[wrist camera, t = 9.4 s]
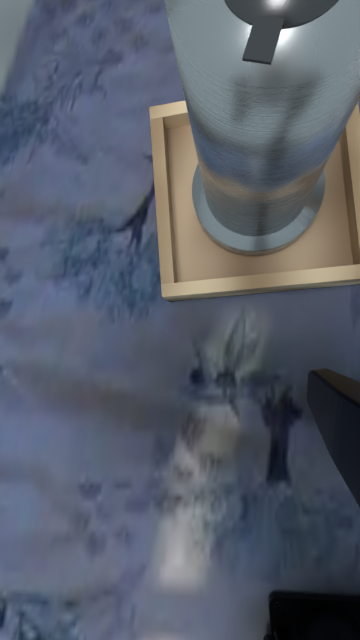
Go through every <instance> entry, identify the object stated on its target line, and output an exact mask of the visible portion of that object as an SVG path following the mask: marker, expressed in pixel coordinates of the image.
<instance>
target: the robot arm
mask: <svg viewBox="0 0 360 640" xmlns="http://www.w3.org/2000/svg"><path fill="white" fill-rule="evenodd" d="M307 402H308V406H309V408H310V410H311V413H312V415H313V417H314V420H315V422H316V424H317V426H318V429H319V431H320V433H321V436H322V438H323V440H324V443H325V445H326V447H327V449H328V452H329V454H330V456H331V458H332V460H333V462H334V463H335V465H336V467H337V469H338V471H339V472H340V474H341V476H342V478H343V479H344V481H345V483H346V484H347V486H348V488H349V490H350V491H351V493H352V495H353V497H354V498H355V500H356V502H357V504H358V505H359V507H360V382H358V381H355V380H353V379H351V378H348V377H346V376H343V375H341V374H338V373H336V372H334V371H331V370H329V369H326V368H322V369H314V370H311V371H310V372H309V374H308V385H307ZM275 602H279V603H280V606H275V605H274V603H275ZM268 603H269V615H270V627H271V634H269V633H267V634H266V635H265V636H264V640H360V597H359V596H337V595H316V594H294V593H272V594H271V595H270V596H269V599H268Z"/></svg>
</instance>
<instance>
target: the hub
mask: <svg viewBox="0 0 360 640" xmlns="http://www.w3.org/2000/svg"><path fill="white" fill-rule="evenodd" d="M165 5H166V11H167V16H168V21H169V26H170V30H171V35H172V40H173V45H174V49H175V54H176V59H177V64H178V68H179V73H180V78H181V83H182V87H183V92H184V97H185V102H186V106H187V111H188V116H189V121H190V125H191V130H192V135H193V140H194V144H195V149H196V154H197V159H198V165H197V167H196V170H195V173H194V177H193V182H192V199H193V205H194V208H195V211H196V214H197V218H198V221H199V223H200V225H201V227H202V229H203V230H204V232H205V234H206V235H207V236H208V237H209V238H210V239H211V240H212V241H213V242H214V243H215V244H216V245H218V246H219V247H221V248H222V249H224V250H226V251H228V252H230V253H234V254H237V255H241V256H249V257H257V256H265V255H270V254H273V253H276V252H279V251H281V250H283V249H285V248H287V247H288V246H290V245H292V244H293V243H294V242H295V241H297V240H298V239H299V238H300V237H301V236H302V235H303V234H304V233H305V231H306V230H307V229H308V227H309V226H310V224H311V223H312V221H313V220H314V218H315V217H316V215H317V213H318V211H319V209H320V207H321V204H322V201H323V198H324V193H325V172H324V168H325V166H326V164H327V162H328V160H329V158H330V156H331V154H332V152H333V150H334V148H335V146H336V144H337V142H338V140H339V138H340V136H341V134H342V133H343V131H344V129H345V127H346V125H347V123H348V121H349V119H350V117H351V115H352V113H353V111H354V109H355V107H356V105H357V103H358V101H359V99H360V0H165Z"/></svg>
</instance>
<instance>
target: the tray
mask: <svg viewBox="0 0 360 640" xmlns="http://www.w3.org/2000/svg"><path fill="white" fill-rule="evenodd" d="M149 109H150V124H151V139H152V154H153V169H154V184H155V199H156V214H157V229H158V244H159V259H160V274H161V289H162V297H163V298H164V299H166V300H167V301H180V300H191V299H201V298H212V297H223V296H234V295H245V294H256V293H267V292H278V291H289V290H299V289H310V288H321V287H332V286H343V285H354V284H360V115H359V106H358V103H357V105H356V107H355V109H354V111H353V113H352V115H351V117H350V119H349V121H348V123H347V125H346V127H345V129H344V131H343V133H342V134H341V136H340V138H339V140H338V142H337V144H336V146H335V148H334V150H333V152H332V154H331V156H330V158H329V160H328V162H327V164H326V166H325V168H324V172H325V193H324V198H323V201H322V204H321V207H320V209H319V211H318V213H317V215H316V217H315V218H314V220H313V221H312V223H311V224H310V226H309V227H308V229H307V230H306V231H305V233H304V234H303V235H302V236H301V237H300V238H299V239H298V240H297V241H295V242H294V243H293V244H292V245H290V246H288V247H287V248H285V249H283V250H281V251H279V252H276V253H273V254H270V255H265V256H257V257H249V256H241V255H237V254H234V253H230V252H228V251H226V250H224V249H222V248H221V247H219V246H218V245H216V244H215V243H214V242H213V241H212V240H211V239H210V238H209V237H208V236H207V235H206V234H205V232H204V230H203V229H202V227H201V225H200V223H199V221H198V218H197V214H196V211H195V208H194V205H193V199H192V182H193V177H194V173H195V170H196V167H197V165H198V159H197V154H196V149H195V144H194V140H193V135H192V130H191V125H190V121H189V116H188V111H187V106H186V102H185V101H180V102H175V103H169V104H164V105H159V106H153V107H149Z"/></svg>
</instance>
